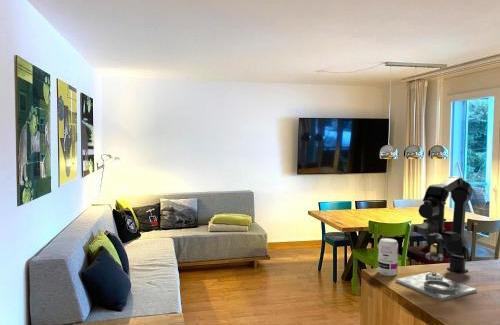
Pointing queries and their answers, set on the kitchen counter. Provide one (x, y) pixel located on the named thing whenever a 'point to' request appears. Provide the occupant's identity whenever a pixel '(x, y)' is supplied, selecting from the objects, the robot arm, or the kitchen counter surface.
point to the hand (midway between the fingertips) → (434, 253)
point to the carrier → (436, 286)
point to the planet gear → (434, 253)
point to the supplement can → (388, 257)
